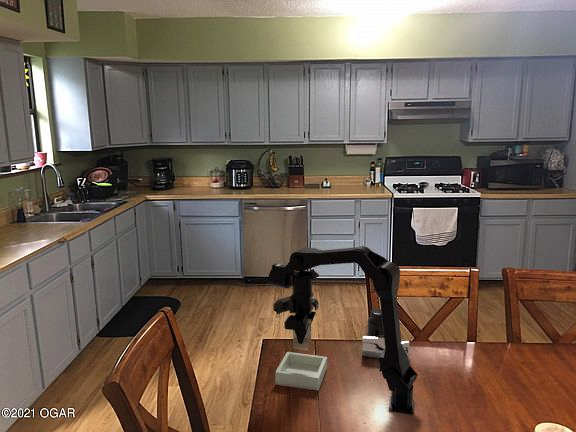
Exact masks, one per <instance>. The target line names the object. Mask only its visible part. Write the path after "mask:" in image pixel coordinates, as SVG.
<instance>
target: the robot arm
mask: <svg viewBox="0 0 576 432" xmlns="http://www.w3.org/2000/svg"><path fill="white" fill-rule="evenodd" d="M343 264H356V265H358V267H360V269H361V270H362V272H363V273H364V274H365V276H366V277H368V278H369V279H370V280H371V282H372V285H373V289H374V291H375V293H376V295H377V297H378V298H379V303H380V309H381V314H382V323H383V332H384V342H385V350H384V351H383V353H382V354H381V355H380V356H379V358H378V362H379V372H380V373H381V374H382V377H383V379H384V380H385V381H386V384H387V387H388V390H389V391H390V392H391V393H390V394H391V395H390V397H389V401H388V403H389V406H388V411H391V412H397V413H404V414H411V415H414V411H415V409H414V408H415V400H414V399H413V398H414V383H415V381H416V380H417V378H418V373H417V372H416V371H415V369H414V368H413V367H412V366H411V364H410V361H409V359H408V356H407V353H406V351H405V350H404V348H403V346H402V341H403V340H402V334H401V333H402V332H401V324H400V314H399V303H398V292H399V288H400V282H401V270H400V267H399V266H398V265H397V264H396V263H394V262H392V261H389V260H388V259H387V258H385V256H382V255H380V254H378V253H376V252H375V251H373V250H372V249H370V248H369V247H367V246H365V245H361V246H356V247H354V246H353V247H344V248H334V249H324V250H323V249H319V248H317V247H316V248H315V247H302V248H300V249H298V250H296V251H294V252H292V253H291V254H290V256H289V260H288V262H287V264H286V265H285V264H280V263H277V262H275V263H273V264H271V269H270V271H269V273H268V276H267V281H268V284H269V285H270V286H272V287H277V288H278V287H279V288H284V289H289V288H291V286H292V293H291V295H289V296H286V297H281V298H278V299H276V300H275V302H274V303H273V305H272V307H273V311H274V312H275V313H276V315H280V314H282V313H286V312H289V313H290V314H289V316H287V317H286V319H285V321H284V322H283V323H284V326H283V327H284V330H290V331H293V330H294V331H295V334H296V337H297V340H298V343H299V344H302V343H303V341H304V338H305V336H306V333H307V330H308V328H309V325H310V323H308V319H311V325H312V323H313V322H314V319H315V316H316V315H317V314H316V313H317V312H316V311H318V309H319V308H320V307H319V300H318V299H316V298H313V297H314V296H315V295H314V292H313V281H314V280H315V279H318V278H319V277H320V274H319V273H318V272H317V271H315V269H314V268H316V267H319V266H326V265H327V266H328V265H343ZM313 310H314V311H313Z"/></svg>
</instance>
